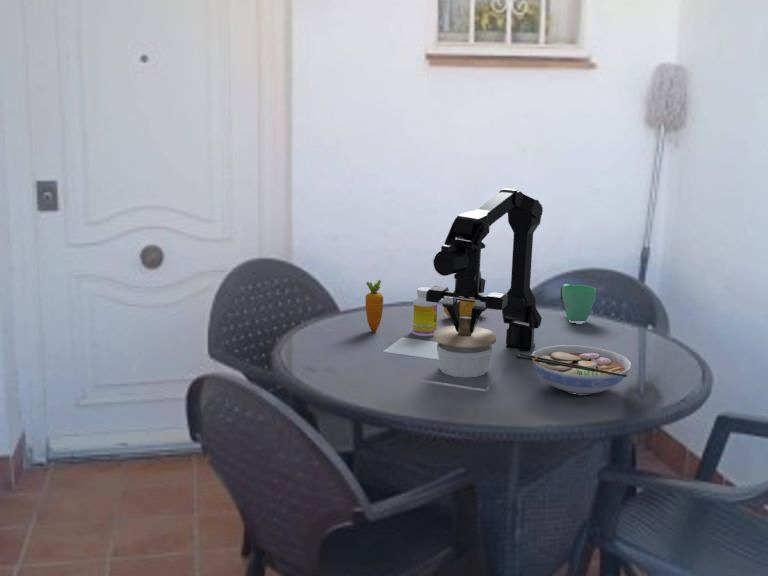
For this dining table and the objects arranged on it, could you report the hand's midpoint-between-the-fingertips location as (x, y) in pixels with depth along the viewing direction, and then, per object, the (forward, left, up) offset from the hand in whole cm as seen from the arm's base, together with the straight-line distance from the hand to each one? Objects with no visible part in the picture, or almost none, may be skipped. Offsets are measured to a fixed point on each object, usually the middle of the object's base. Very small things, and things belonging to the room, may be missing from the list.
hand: (465, 332), depth 222 cm
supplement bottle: (+19, -26, -10) cm, 34 cm away
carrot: (+32, -21, -10) cm, 40 cm away
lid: (0, 0, -2) cm, 2 cm away
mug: (-16, -59, -10) cm, 62 cm away
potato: (+14, -48, -10) cm, 51 cm away
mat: (+14, -12, -10) cm, 21 cm away
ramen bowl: (-28, +1, -10) cm, 30 cm away
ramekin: (0, 0, -10) cm, 10 cm away
